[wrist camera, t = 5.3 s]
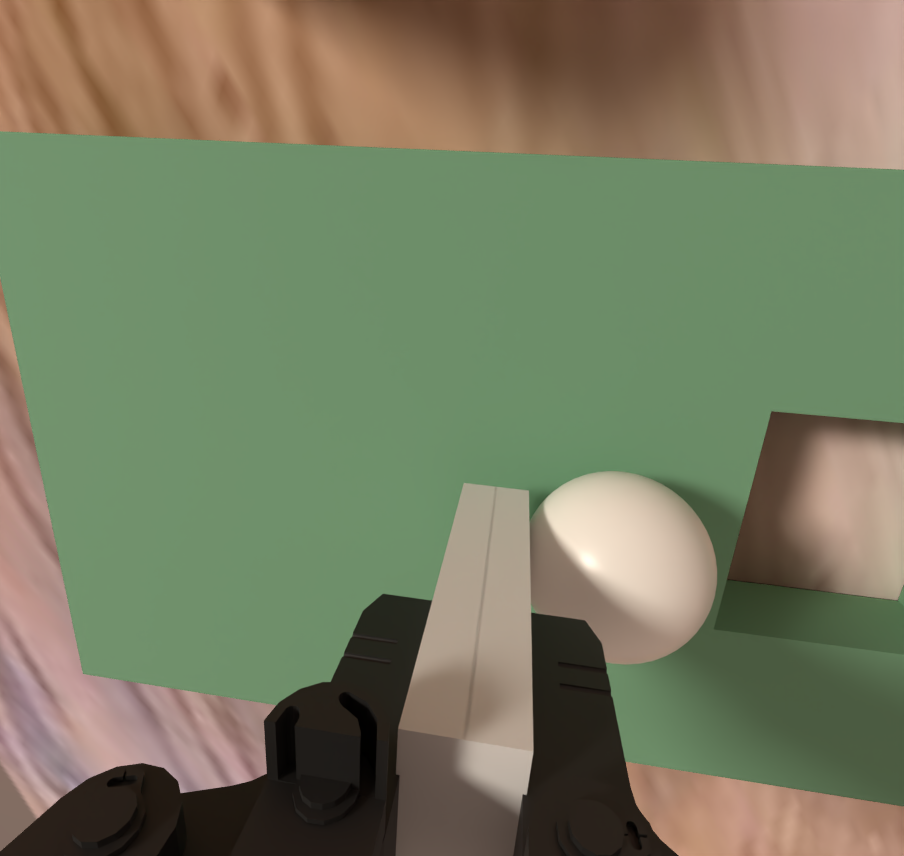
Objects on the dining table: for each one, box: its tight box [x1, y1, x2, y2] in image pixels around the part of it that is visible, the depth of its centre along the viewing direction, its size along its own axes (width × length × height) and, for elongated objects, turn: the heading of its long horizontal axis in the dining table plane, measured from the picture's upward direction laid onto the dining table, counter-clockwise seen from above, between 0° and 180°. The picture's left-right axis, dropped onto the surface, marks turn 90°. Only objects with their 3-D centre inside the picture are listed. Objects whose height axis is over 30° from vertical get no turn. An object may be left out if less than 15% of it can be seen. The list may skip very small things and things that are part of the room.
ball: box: [529, 471, 717, 665], centre depth 11 cm, size 4×4×4 cm
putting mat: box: [0, 132, 904, 806], centre depth 15 cm, size 16×28×2 cm, turn 86°
